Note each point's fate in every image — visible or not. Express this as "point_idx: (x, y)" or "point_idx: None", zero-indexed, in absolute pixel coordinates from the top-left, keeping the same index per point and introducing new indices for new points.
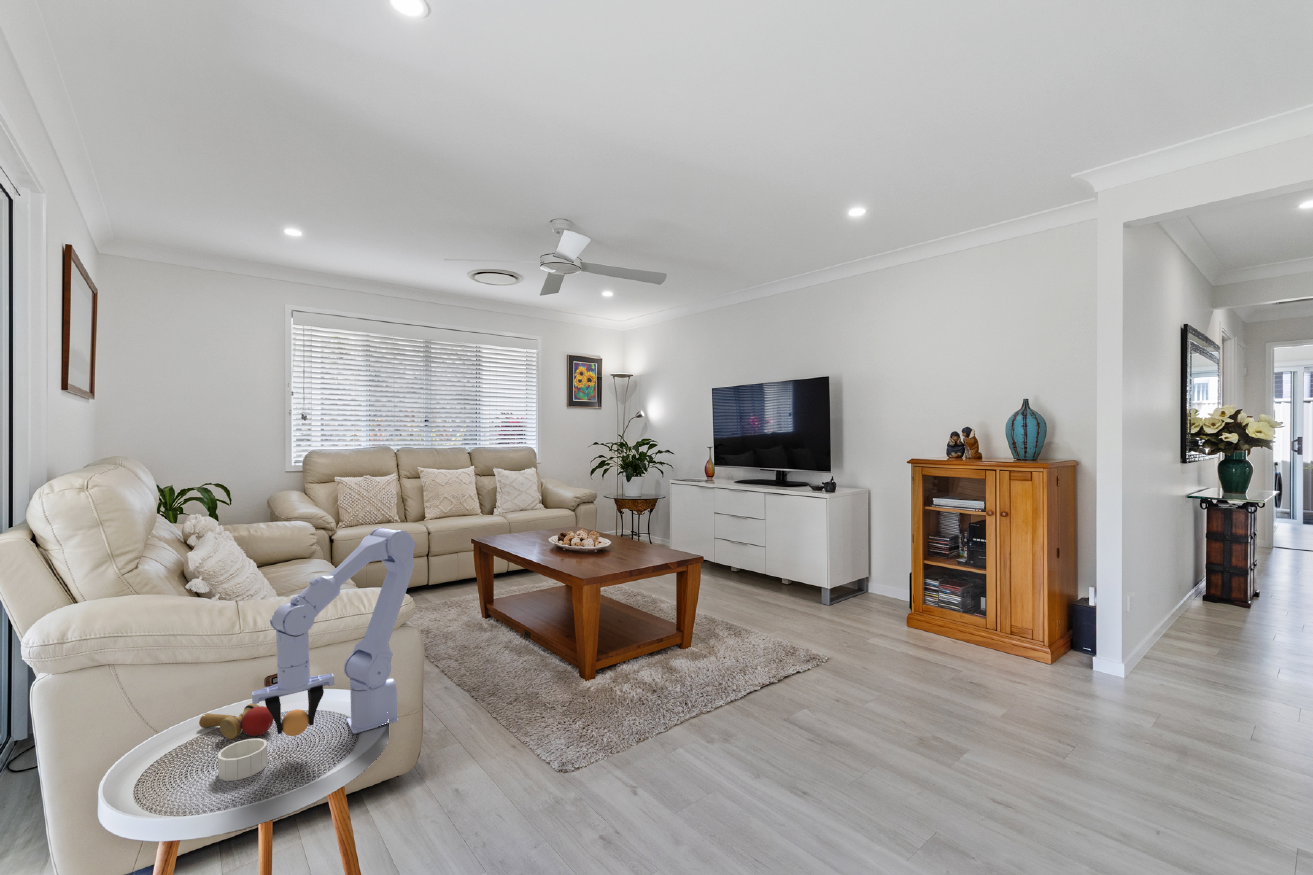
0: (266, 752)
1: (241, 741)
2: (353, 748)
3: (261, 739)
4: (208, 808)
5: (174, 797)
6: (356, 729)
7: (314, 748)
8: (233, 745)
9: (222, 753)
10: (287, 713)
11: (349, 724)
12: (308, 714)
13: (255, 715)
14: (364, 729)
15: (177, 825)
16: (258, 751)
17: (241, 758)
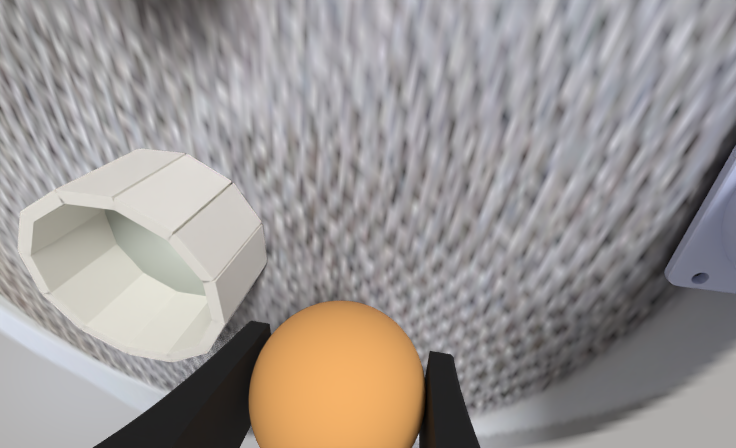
0: (239, 303)
1: (85, 200)
2: (575, 372)
3: (189, 253)
4: (142, 369)
5: (21, 260)
6: (702, 266)
7: (452, 267)
8: (59, 206)
9: (41, 241)
10: (267, 430)
11: (732, 171)
12: (429, 403)
13: None
14: (731, 291)
15: (97, 382)
16: (197, 353)
17: (142, 356)
